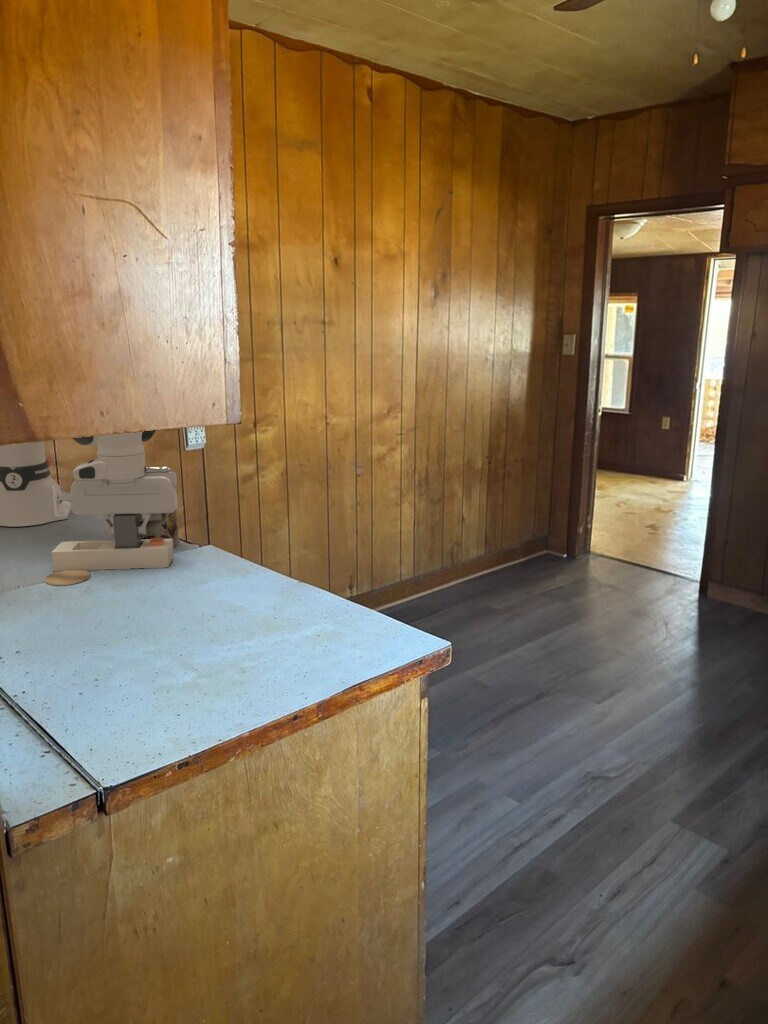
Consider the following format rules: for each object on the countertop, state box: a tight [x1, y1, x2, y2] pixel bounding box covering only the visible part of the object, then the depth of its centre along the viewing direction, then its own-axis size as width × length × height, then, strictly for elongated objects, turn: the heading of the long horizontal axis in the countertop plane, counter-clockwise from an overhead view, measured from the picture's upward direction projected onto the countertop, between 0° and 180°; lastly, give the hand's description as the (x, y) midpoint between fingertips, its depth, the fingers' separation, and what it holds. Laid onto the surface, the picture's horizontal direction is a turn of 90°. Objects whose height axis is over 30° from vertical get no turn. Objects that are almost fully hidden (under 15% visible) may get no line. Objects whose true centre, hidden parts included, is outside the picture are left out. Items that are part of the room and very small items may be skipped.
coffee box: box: [139, 509, 180, 549], centre depth 160 cm, size 9×6×16 cm
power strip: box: [51, 538, 175, 573], centre depth 151 cm, size 22×7×5 cm, turn 97°
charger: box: [112, 514, 141, 549], centre depth 151 cm, size 4×4×7 cm
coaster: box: [44, 570, 91, 587], centre depth 143 cm, size 8×8×1 cm
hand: (127, 534), depth 151 cm, fingers closed on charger, 4 cm apart
